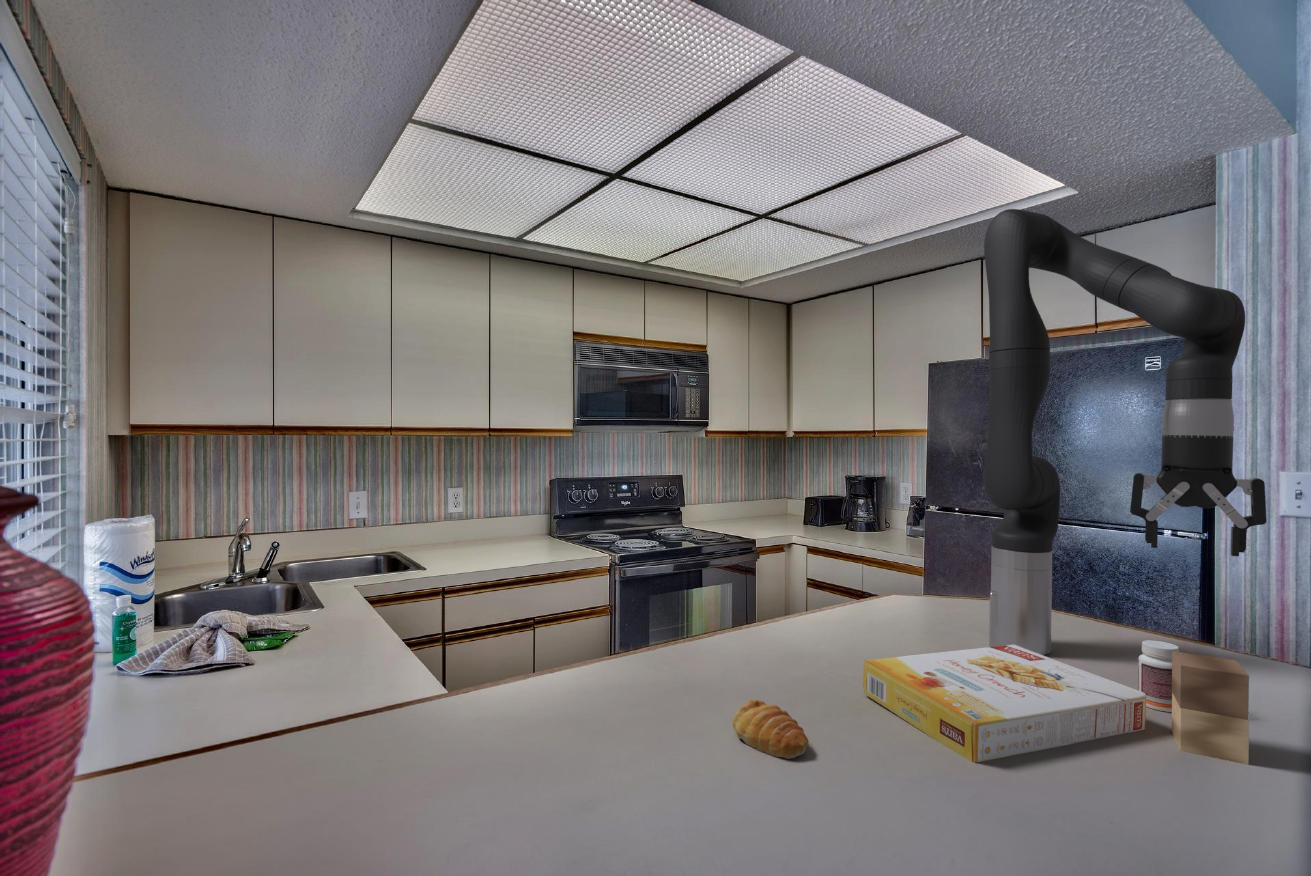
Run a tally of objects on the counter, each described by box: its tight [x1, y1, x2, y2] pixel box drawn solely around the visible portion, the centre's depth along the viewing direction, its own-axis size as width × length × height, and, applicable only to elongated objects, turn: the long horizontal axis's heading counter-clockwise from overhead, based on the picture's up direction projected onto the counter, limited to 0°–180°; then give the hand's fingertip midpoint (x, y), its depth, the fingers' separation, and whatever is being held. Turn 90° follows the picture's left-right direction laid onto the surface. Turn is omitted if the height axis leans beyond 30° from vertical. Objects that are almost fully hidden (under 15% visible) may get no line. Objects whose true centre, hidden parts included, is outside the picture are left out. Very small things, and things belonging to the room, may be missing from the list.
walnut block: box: [1172, 651, 1250, 720], centre depth 77 cm, size 6×6×5 cm
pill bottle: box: [1137, 639, 1180, 713], centre depth 89 cm, size 5×5×8 cm
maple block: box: [1171, 693, 1250, 766], centre depth 77 cm, size 6×6×5 cm
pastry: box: [732, 699, 809, 760], centre depth 77 cm, size 9×7×4 cm
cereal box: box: [862, 645, 1147, 764], centre depth 86 cm, size 20×6×28 cm
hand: (1193, 551), depth 89 cm, fingers open, 8 cm apart
